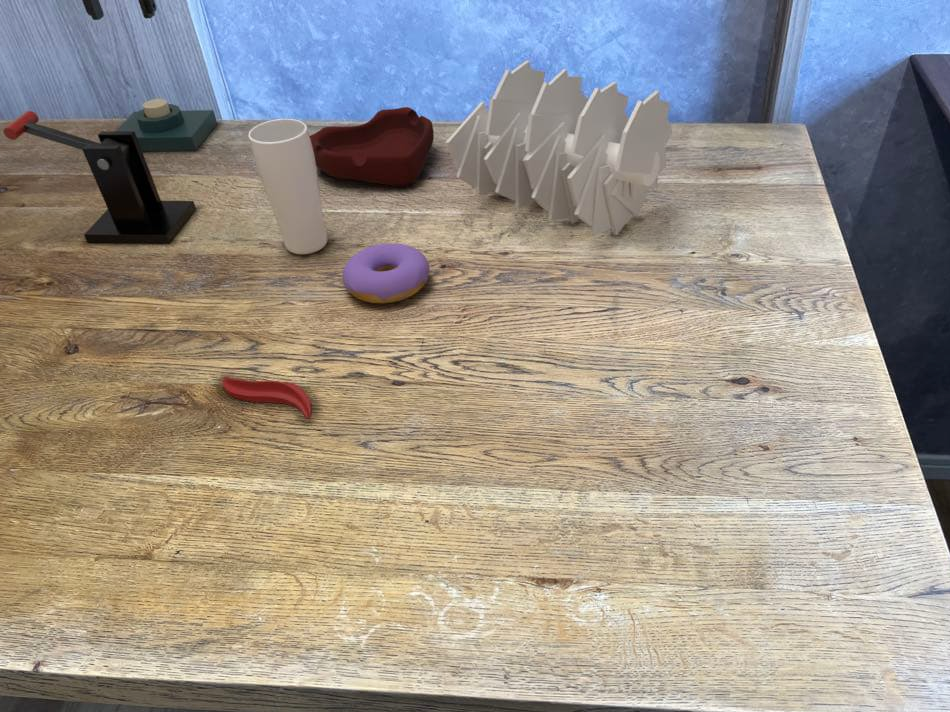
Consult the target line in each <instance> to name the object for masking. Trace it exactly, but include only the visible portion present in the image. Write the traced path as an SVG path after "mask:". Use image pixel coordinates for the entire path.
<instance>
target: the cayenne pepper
mask: <svg viewBox="0 0 950 712" xmlns="http://www.w3.org/2000/svg"><path fill="white" fill-rule="evenodd" d="M221 382H222V387H223V390H224V391H225V393H226V394H228V395H229V396H231V397H232V398H234V399H237V400H240V401H245V402H253V403H277V404H284V405H290V406H292V407H295V408H297V409H298V410H299V411H301V413H302V414H303V416H304V417H305V418H306V419H307V420H309V419H310V417H311V415H312V405H311V401H310V398H309V396H308V394H307V393H306V392H305V390H304V389H303V388H302V387H301V386H299V385H297V384H295V383H292V382H286V381H285V382H284V381H283V382H282V381H276V380H260V381H253V380H245V379H238V378H232V377H228V376H224V377H223V378H222V381H221Z"/></svg>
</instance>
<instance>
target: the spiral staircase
mask: <svg viewBox="0 0 950 712" xmlns="http://www.w3.org/2000/svg"><path fill="white" fill-rule="evenodd" d="M545 78H546V71H544V70H540V69H536V68H535V69H534V68H531V62H530V60H525V61H524V62H523V63H521V64H520V65H518V66H517V67H515V68H514V69H513V70H512V71H511V70H510V69H505V71H504V73H503V75H502V78H501V79H500V81H499V82H498V85H497V87H496V89H495V92H494V93H493V95H492V97H491V98H489V102H488V103H489V104H488V109H487V106H486V103H485V101H480V103H478V105H476V107H475V108H474V109H473V110H472V111H471V113H470V114H469V115H468V116H467V117H466V118H465V119H464V120H463V122H462V123H461V124H460V125H459V126H458V127H457V129H456V130H455V131H454V132H453V133H452V134H451V135H450V136H449V137H448V139H446V141H445V143H444V144H445V145H446V147H447V150H448V153H449V155H450V158H451V161H452V162H453V165H454V168H455V169H458V170H457V173H456V176H455V177H456V178H457V179H459V180H461V181H462V182H464V183H466V184H467V185H469V186H470V187H472V188H475V196H476V197H479V198H480V197H482V196H486V195H489V194H492V193H497V194H499V195H500V196H501V197H505V198H507V199H510V200H512V201H514V209H516V210H520V209H522V208H524V207H526V206H529V205H531V204H533V203H537V204H538V206H540V207H541V209H543V210H544V211H545V212H548V218H547V220H548V221H549V222H553V221H558V220H564V219H568V218H569V220H570V224H573V225H575V224H576V222H577V221H578V220H581V222H583V223H585V224H586V225H587V226H589V227H591V230H590V231H591V232H590V235H591V236H593V237H595V236H597V235H600V234H602V233H605V232H607V231H610V230H612V233H613V235H615V236H617V235H618V234H619V233H620V232H621V231H622V229H623V228H624V226H626V224H627V222H628V221H629V220H630V218H631V217H632V216H634V217H635V218H639V216H640V214H641V211H642V208H643V205H644V203H645V200H646V197H647V195H648V192H649V191H650V190H653V189H655V188H657V186H658V181H659V175H660V174H661V173H662V172H663V171H664V170H665V169H667V144H668V142H669V140H670V138H671V137H672V134H673V132H674V131H673V128H672V126H671V123H670V121H669V118H668V116H669V112H670V107H671V102H669V101H665V100H663V99H660V91H659V90H654V91H653V92H652V93H651V94H650V95H649V96H647V98H644V100H637V102H636V104H635V107H634V108H633V110H632V113H631V114H630V117H628V115H627V112H626V109H627V106H628V102H629V96H628V95H626V94H624V93H621V92H620V91H618V82H617V81H612V82H611V83H609V84H608V85H606V86H604V87H603V88H601V89H600V88H599V87H594V90H593V91H592V93H591V95H590V96H589V98H587V97H586V95H585V94H584V93H583V91H582V85H583V84H582V83H583V76H576V75H575V76H573V75H568V69H567V68H566V69H565V68H563V69H562V70H561V71H559V72H558V73H557V74H556V75H555V76H554V77H553V78H552V79H551V80H550V81H549V82H546V81H545Z"/></svg>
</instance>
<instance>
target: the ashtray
mask: <svg viewBox="0 0 950 712" xmlns="http://www.w3.org/2000/svg"><path fill="white" fill-rule="evenodd" d="M434 133H435V132H434V125H433V122H432V121H431V119H429V118H427V117H426V116H424V115H420V116H419V115H418V113H417V111H416V110H415V109H413V108H411V107H409V106H404V107H398V108H397V107H396V108H392V109H391V108H390V109H389V108H388V109H387V108H386V109H380V110H378V111H377V112H376V113H375V115H374V116H373V117H372V118H371V119H370V120H368V121H367V122H364V123H363V124H359V125H352V126H325V127H322V128H321V129H319V130H318V131H317V132H315V133H313V134H311V135H310V134H309V135H310V139H311V143H312V146H313V151H314V155H315V161H316V167H317V169H319V170H320V171H322V172H323V173H324V174H326V175H328V176H331V177H334V178H338V179H346V180H356V181H364V182H370V183H375V184H380V185H381V184H382V185H387V186H393V187H396V188H406V187H410V186H411V185H413V184H414V183H415V182H416V181H417V180H418V179H419V177H420V175H421V173H422V171H423V166H424V164H425V163H426V160H427V158H428V155H429V152H430V150H431V149H432V146H433V143H434V138H435V134H434Z"/></svg>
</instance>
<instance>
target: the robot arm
mask: <svg viewBox="0 0 950 712" xmlns="http://www.w3.org/2000/svg"><path fill="white" fill-rule="evenodd" d="M81 1H82V4H83V6H84V9H85V12H86V13H87V15H88V16H91V18H92V20H93V21H99V20H101V19H102V18H104V15H105V14H104V10H103V8H102V5H101V3H100V0H81ZM137 2H138V4H139V7H140V10H141V13H142V15H143V18H144V19H152V18H153V17H154V16H155V14H156V12H157V5H156V1H155V0H137Z"/></svg>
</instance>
